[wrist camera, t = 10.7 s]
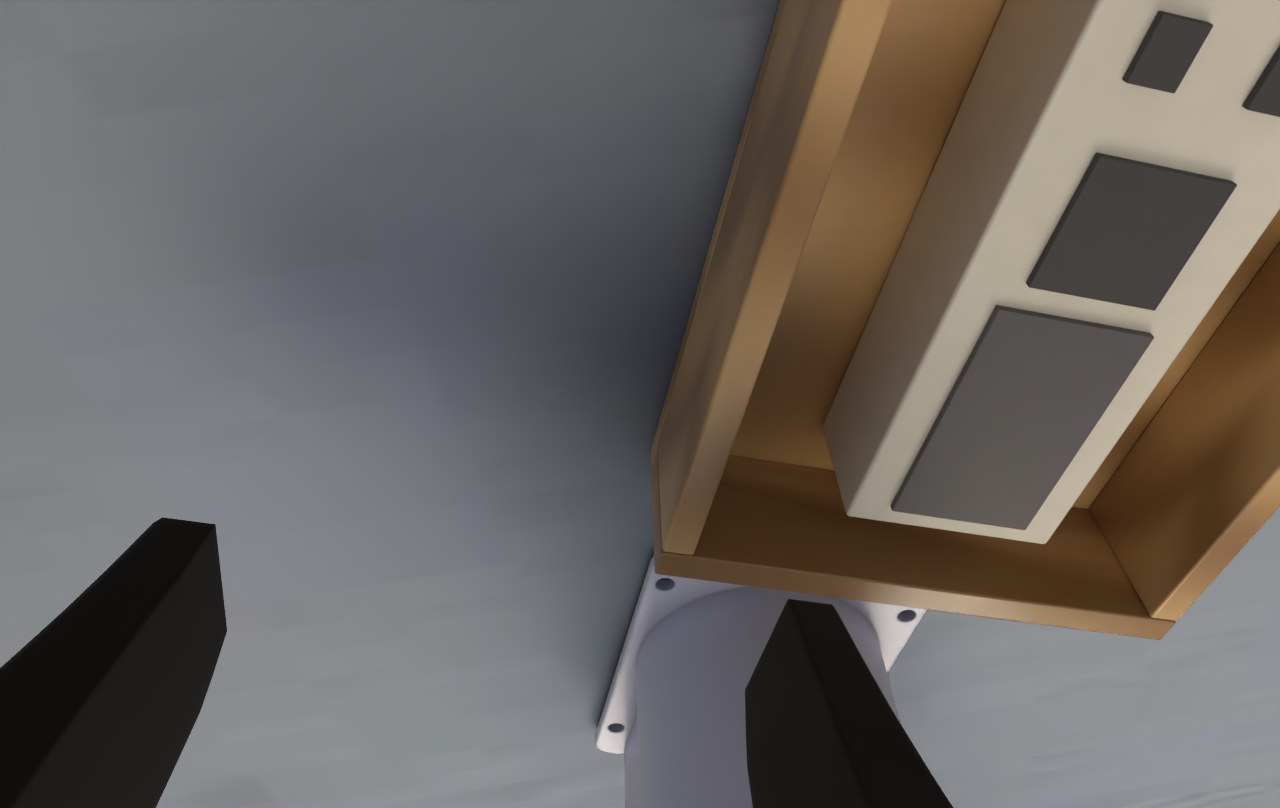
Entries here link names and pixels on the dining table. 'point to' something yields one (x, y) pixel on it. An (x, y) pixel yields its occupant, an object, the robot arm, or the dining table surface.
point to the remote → (1059, 257)
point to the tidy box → (835, 320)
